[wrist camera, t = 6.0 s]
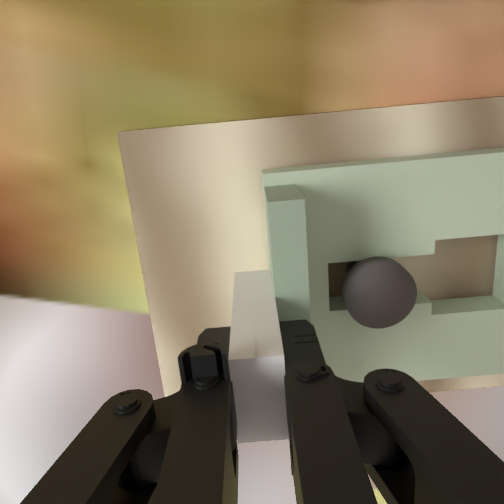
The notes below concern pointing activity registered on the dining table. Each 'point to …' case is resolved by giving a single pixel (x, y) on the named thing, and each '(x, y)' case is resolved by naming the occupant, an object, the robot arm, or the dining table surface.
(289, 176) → the panel
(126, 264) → the dining table surface
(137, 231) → the board
